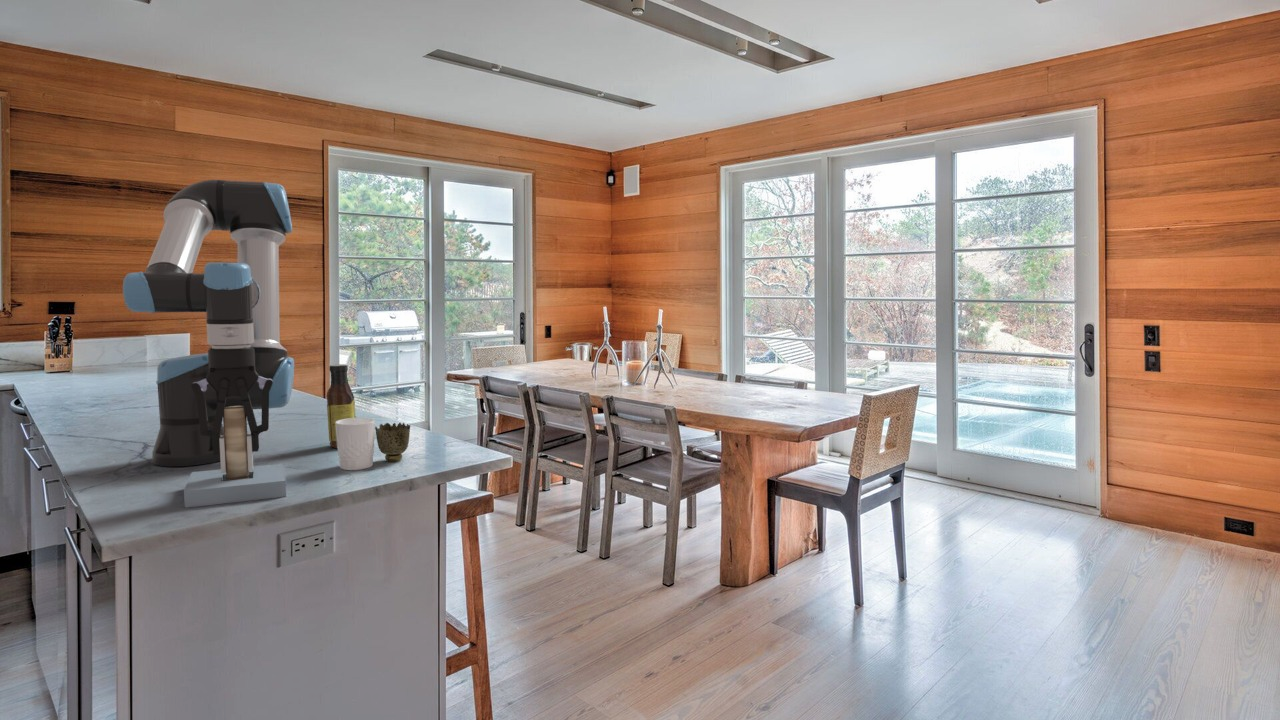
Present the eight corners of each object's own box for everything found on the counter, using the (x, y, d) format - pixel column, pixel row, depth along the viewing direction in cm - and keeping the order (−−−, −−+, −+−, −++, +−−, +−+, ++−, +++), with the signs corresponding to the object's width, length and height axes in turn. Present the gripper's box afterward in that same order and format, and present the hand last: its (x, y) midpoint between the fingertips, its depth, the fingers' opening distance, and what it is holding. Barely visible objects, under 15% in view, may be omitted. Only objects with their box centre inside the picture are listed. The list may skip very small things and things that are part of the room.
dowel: (227, 489, 137) (222, 406, 135) (250, 487, 139) (246, 405, 137) (226, 495, 134) (221, 409, 132) (249, 492, 135) (245, 408, 134)
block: (192, 487, 139) (191, 472, 139) (284, 478, 146) (284, 463, 146) (184, 507, 127) (183, 491, 126) (286, 496, 134) (285, 480, 134)
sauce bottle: (362, 445, 176) (359, 364, 174) (339, 450, 171) (336, 367, 169) (345, 442, 179) (343, 362, 177) (322, 446, 174) (319, 365, 172)
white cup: (352, 473, 151) (350, 426, 150) (329, 467, 155) (327, 421, 154) (383, 465, 157) (382, 420, 156) (360, 460, 161) (359, 416, 160)
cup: (400, 465, 157) (399, 429, 156) (369, 463, 159) (368, 427, 158) (417, 457, 164) (416, 423, 164) (387, 455, 166) (386, 421, 165)
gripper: (175, 349, 126) (182, 479, 129) (282, 346, 134) (287, 469, 136) (180, 346, 133) (187, 470, 136) (281, 343, 141) (286, 460, 143)
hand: (237, 469), depth 136 cm, fingers closed on dowel, 4 cm apart
